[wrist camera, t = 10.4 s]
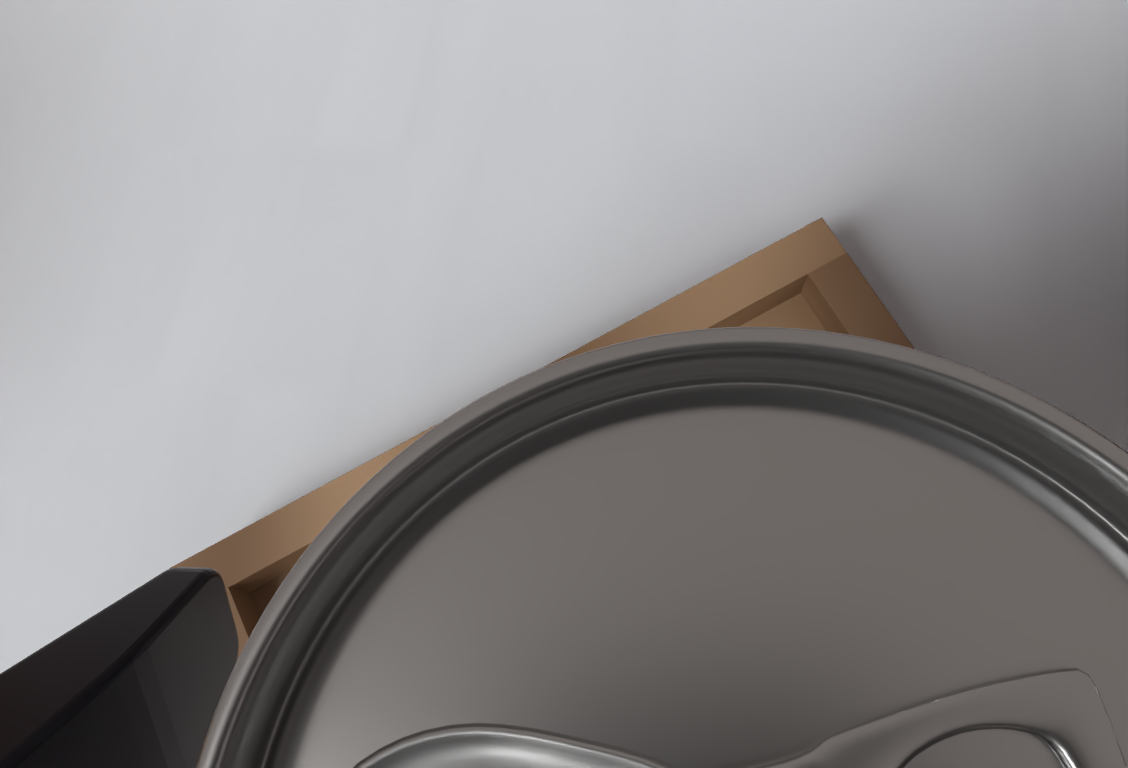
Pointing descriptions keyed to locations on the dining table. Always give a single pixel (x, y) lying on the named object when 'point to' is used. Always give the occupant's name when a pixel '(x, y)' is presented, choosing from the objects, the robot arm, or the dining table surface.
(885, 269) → the dining table surface
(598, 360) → the can
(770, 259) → the walnut tray
